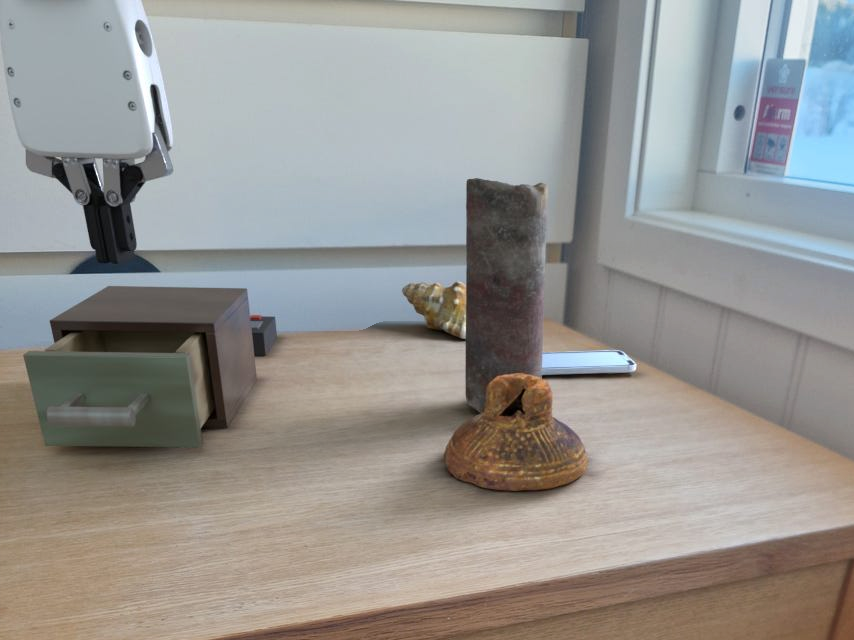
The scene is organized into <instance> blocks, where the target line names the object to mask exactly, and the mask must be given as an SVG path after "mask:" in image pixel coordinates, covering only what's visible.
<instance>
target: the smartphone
mask: <svg viewBox="0 0 854 640" xmlns="http://www.w3.org/2000/svg"><path fill="white" fill-rule="evenodd" d="M636 370H637V363H636V362H635V361H634V360H633V359H632V358H631V357H630V356H628V355H627V354H626V353H625V352H624V351H622V350H617V349H607V350H606V349H605V350H579V351H578V350H575V351H574V350H573V351H572V350H571V351H546V352H545V351H542V376H553V375H554V376H555V375H580V374H582V375H585V374H606V375H612V374H617V373H618V374H629V373H632V372H636Z"/></svg>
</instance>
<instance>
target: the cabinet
mask: <svg viewBox="0 0 854 640" xmlns="http://www.w3.org/2000/svg"><path fill="white" fill-rule="evenodd" d="M250 316H251V312H250V303H249V293H248V288H247V287H245V288H244V287H243V288H241V287H193V286H192V287H191V286H190V287H188V286H187V287H186V286H184V287H183V286H131V285H107V286H105V287H104V288H102V289H101V290H99V291H97V292H96V293H94V294H92V295H91V296H89V297H87V298H85V299H83V300H81V301H80V302H78V303H77V304H75V305H73V306H72V307H70V308H68V309H67V310H65V311H63V312H61V313H59V314H58V315H57V316H54V317H53V318H51V319H49V326H50V329H51V334H52V338H53V344H54V343H56V342H57V341H59V340H60V339H62V338H63V337H65V336H66V335H68V334H70V333H71V332H73V331H74V330H79V331H145V332H206V340H207V347H208V354H209V362H210V369H211V377H212V384H213V391H214V399H215V406H216V407H215V409H214V410H213V412H212V413H211V415H210V416H209V417H208V419H207V420H206V422H205V423H204V424H203V426H202V427H201V429H207V428H208V429H209V428H210V429H227V428H228V427H229V426H230V424H231V423H232V421H233V419H234V418H235V416H236V415H237V413H238V411H239V410H240V408H241V406H242V405H243V403H244V402H245V400H246V398H247V397H248V395H249V394H250V392H251V391H252V389H253V387H254V385H255V384H256V383H257V381H258V376H257V375H258V374H257V368H256V356H254V347H253V338H252V329H251V320H250Z"/></svg>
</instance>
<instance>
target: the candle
mask: <svg viewBox="0 0 854 640" xmlns="http://www.w3.org/2000/svg"><path fill="white" fill-rule="evenodd" d="M465 185H466V187H465V188H466V190H465V191H466V193H465V195H466V196H465V199H466V200H465V201H466V202H465V210H466V211H465V212H466V213H465V214H466V216H465V217H466V220H465V221H466V228H465V230H466V231H465V232H466V233H465V234H466V235H465V236H466V238H465V240H466V241H465V242H466V243H465V245H466V246H465V247H466V256H465V257H466V259H465V260H466V261H465V262H466V271H465V278H466V280H465V286H466V339H465V371H464V373H465V374H464V375H465V379H464V380H465V399H466V403H467V405H468V406H471V408H473V409H474V410H476V411H477V412H478V413H479V414H481V413H483V412H484V410H485V405H486V389H487V385H488V384H489V383H490V382H491V381H492V380H493V379H494V378H496V377H497V376H502V375H510V374H516V373H523V374H527V375H533V376H536V377H539V378H541V379H543V377H542V376H543V375H542V352H543V342H544V336H543V335H544V310H545V282H546V261H547V259H546V257H547V256H546V253H547V252H546V250H547V249H546V247H547V235H548V198H549V187H548V184H547V183H545V182H544V183H543V182H538V183H537V184H535V185H530V184H529V183H528V184H523V183H520V184H516V185H514V184H509V183H507V182H501V181H498V180H489V179H483V178H479V177H475V178H468V179H466V183H465Z"/></svg>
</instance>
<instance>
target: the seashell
mask: <svg viewBox="0 0 854 640" xmlns="http://www.w3.org/2000/svg"><path fill="white" fill-rule="evenodd" d="M401 293H402V295H403V296H404V297H405V298H406V300H407V302H408V303H409V304H410V305H412V306H413V308H414V311H415V313H417V314H419V315H421V316H423V318H424V321H425V323H426V324H425V325H426V327H427V328H429V329H433V330H436V331H437V330H438V331H445V332H446V333H448V334H450V335H452V336H454V337H457V338H459V339H463V340H466V283H465V284H464V282H462V281H455V282H454V283H453V284H452V285H451V286H448V287H445V286H443V285H441V284H440V282H439V281H437V282H436V281H435V282H434V283H433V284H427V283H426V282H424V281H422V282H420V283H415V282H410V283H408V284H406V285H405V286H404V287H402V290H401Z"/></svg>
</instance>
